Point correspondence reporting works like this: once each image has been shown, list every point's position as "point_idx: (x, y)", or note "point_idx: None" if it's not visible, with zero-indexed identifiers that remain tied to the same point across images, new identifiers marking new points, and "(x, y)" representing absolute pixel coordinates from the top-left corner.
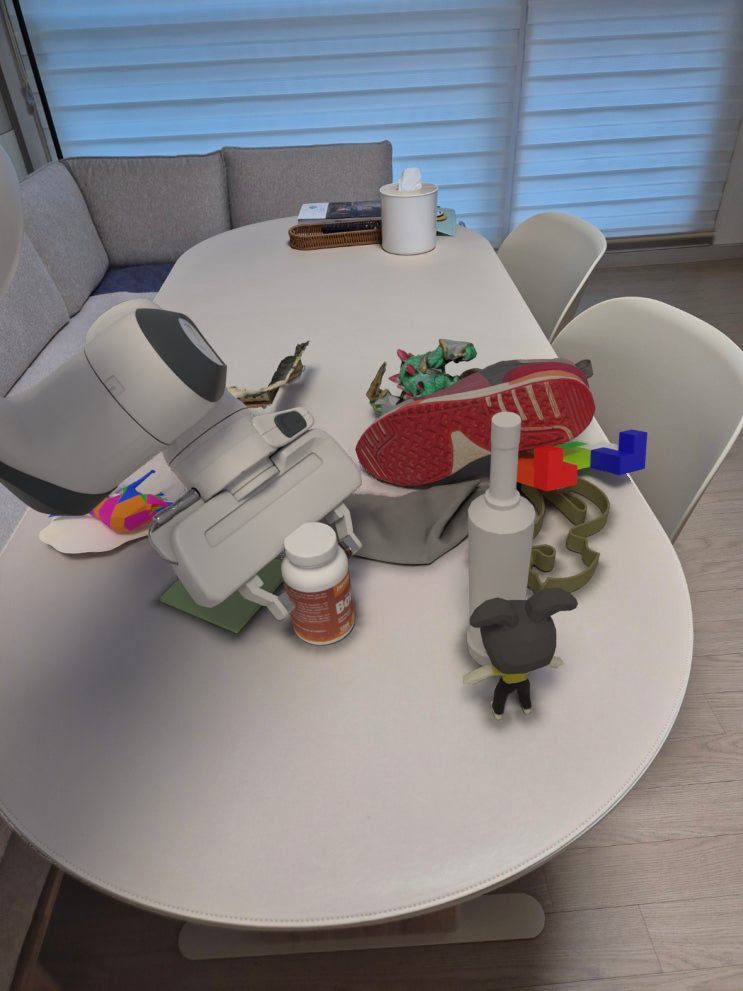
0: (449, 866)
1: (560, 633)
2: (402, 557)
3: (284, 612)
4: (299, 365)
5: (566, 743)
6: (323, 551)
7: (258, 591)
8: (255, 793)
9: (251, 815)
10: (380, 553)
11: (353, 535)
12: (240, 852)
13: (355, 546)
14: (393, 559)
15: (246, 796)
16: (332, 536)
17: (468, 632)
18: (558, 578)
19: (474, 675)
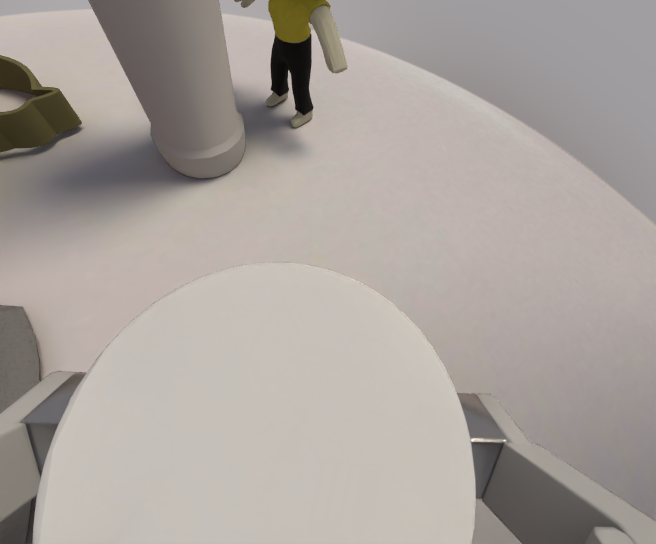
0: (472, 108)
1: None
2: (16, 368)
3: (489, 398)
4: None
5: None
6: (332, 277)
7: (625, 515)
8: (588, 299)
9: (605, 284)
10: None
11: (17, 408)
12: (634, 267)
13: (80, 379)
14: (28, 388)
15: (600, 307)
16: (178, 312)
17: (209, 151)
18: (31, 77)
19: (336, 42)
